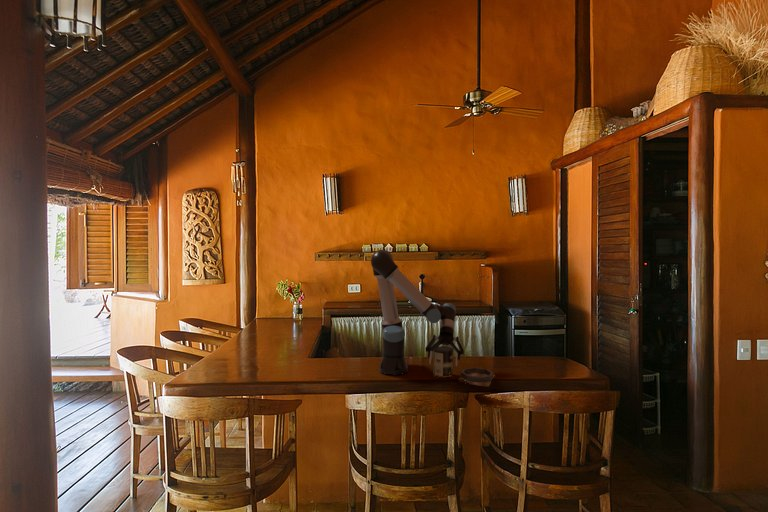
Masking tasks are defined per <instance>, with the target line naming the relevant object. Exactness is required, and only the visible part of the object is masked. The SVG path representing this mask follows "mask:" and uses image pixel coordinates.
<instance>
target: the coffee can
mask: <svg viewBox="0 0 768 512" xmlns="http://www.w3.org/2000/svg"><path fill="white" fill-rule="evenodd" d="M433 350H434V351H433V374H434V375H439V376H449V375H452V374H453V375H454V372H453V371H454V349H453V348H452V346H445V345H440V346H438V347H435V348H433ZM434 375H433V376H434Z"/></svg>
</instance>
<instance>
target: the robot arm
mask: <svg viewBox="0 0 768 512" xmlns="http://www.w3.org/2000/svg"><path fill="white" fill-rule="evenodd" d="M370 265H371V268H372V274H373V276H374V277H375V278H376V281H377V286H378V293H379V299H380V300H379V301H380V307H381V312H382V318H383V320H382V322H381V329H382V358H381V362H380V365H379V373H380V374H382V373H385V374H402V373H405V374H407V373H408V372H407V371H409V366H408V363H407V361H406V357H405V351H406V350H405V346H406V345H405V344H406V343H405V342H406V340H405V337H406V332H405V331H406V330H405V329H404V325H403V320H402V319H401V318H400V317H399V313H398V312H399V311H398V305H397V298H396V292H395V288H396V289H397V290H398V291H399V292H400V293H401V294H402V295H403V296H404V297H405V298H406V299H407V300H408V301H410V303H411V304H412V305H413V306H414V307H415V308H416V309H418V311H419V312H420V313H419V314H420V315H421V316H424V317H425V318H426V320H427V321H428V322H429V323H431V324H437V323H439V322H440V325H439V326H440V327H439V335H438V336H437V335H435V334H433V336H432V339H430V341H429V342H428V344H427V345H426V347H425V349H424V350H425V352H426V353H428V354H427V358H428V359H429V360H428V363H429V365H432V359H433V352H434V350H433V348H435V347H439V346H445V345H446V346H450V347H451V348H453V351H455V352H456V353H455V363H454V364H455V367H458V363H459V361H460V360H461V355H464V354H465V352H464V351H465V350H464V349H463V348H464V347H463V346H462V344H461V342H460V339H459V336H458V335H457V336H456V337H455V336H454V333H455V332H454V331H455V320H456V315H457V314H456V313H457V308H456V306H455V305H454V304H453V303H450V302H449V303H448V302H446V303H444V304H443V305H439V304H435V303H433V302H431V301H430V300H429V299H428V298H427V297H426V296H425V295H424V293H422V292H421V291H420V290H419V289H418V288H417V287H416V285H414V284H413V282H411V281H410V280H409V279H408V278H407V277H406V275H405V274H404V273H403V272H402V271H400V269H399V266H398V264H396V263H395V261H394V258H393V255H392V254H391V252H390V251H388V250H386V249H379V250H376V251H375V252H373V254H372V255H371V259H370ZM454 341H455V342H456V344H455V343H454ZM456 345H457V346H456ZM406 372H407V373H406ZM385 374H384V375H385ZM402 375H403V374H402Z"/></svg>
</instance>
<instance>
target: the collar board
mask: <svg viewBox="0 0 768 512" xmlns="http://www.w3.org/2000/svg"><path fill="white" fill-rule="evenodd" d="M494 376H495V377H496V374H494V372H493V371H491V370H489V369H488V368H483V367H474V366H473V367H469V368H468V367H467V368H463V369H462V371H461V372H460V377H459V379H460V378H464V379H465V380H464V381H467V382H468V383H469V384H468V385H472V386H473V385H474V386H481V387H486V388H487V387H488V388H489V387H490V385H492V383H491V380H492V378H493V377H494Z"/></svg>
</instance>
